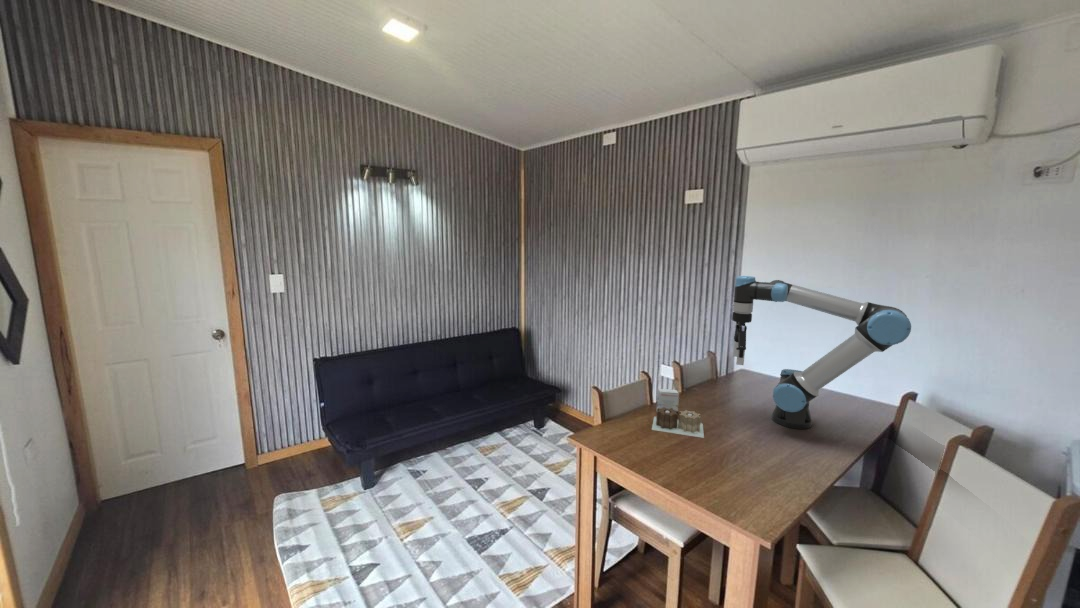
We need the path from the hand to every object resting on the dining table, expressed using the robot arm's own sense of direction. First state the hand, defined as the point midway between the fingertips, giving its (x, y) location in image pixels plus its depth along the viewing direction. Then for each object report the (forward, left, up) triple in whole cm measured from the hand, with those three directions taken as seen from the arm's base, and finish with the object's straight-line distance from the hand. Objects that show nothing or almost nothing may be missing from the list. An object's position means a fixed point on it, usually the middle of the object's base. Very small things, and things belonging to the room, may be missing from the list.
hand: (738, 360), depth 183 cm
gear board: (+23, +20, -27) cm, 41 cm away
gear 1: (+27, +20, -26) cm, 42 cm away
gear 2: (+19, +20, -25) cm, 37 cm away
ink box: (+28, +7, -27) cm, 40 cm away
